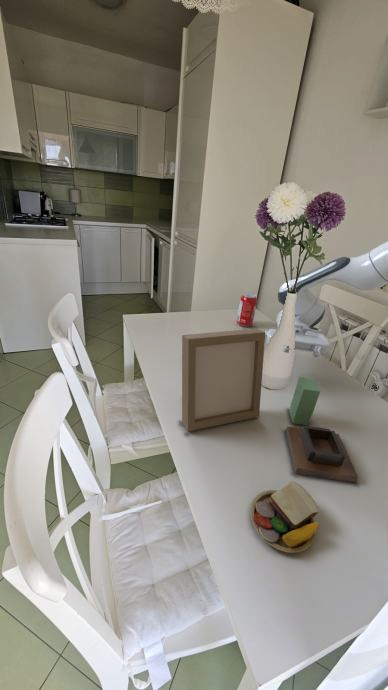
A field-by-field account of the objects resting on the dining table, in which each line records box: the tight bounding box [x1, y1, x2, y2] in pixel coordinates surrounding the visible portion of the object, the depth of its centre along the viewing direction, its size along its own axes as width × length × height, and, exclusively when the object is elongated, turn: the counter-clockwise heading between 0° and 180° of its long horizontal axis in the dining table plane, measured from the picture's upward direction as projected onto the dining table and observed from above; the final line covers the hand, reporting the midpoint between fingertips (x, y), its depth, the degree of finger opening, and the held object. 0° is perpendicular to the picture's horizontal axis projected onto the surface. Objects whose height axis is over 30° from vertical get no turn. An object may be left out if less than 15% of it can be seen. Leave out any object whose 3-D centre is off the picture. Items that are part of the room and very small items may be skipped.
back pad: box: [288, 376, 321, 426], centre depth 87 cm, size 4×6×12 cm
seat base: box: [285, 425, 359, 484], centre depth 76 cm, size 14×14×5 cm
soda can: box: [236, 292, 258, 328], centre depth 145 cm, size 8×8×15 cm
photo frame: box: [181, 328, 266, 432], centre depth 83 cm, size 15×22×25 cm
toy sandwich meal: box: [249, 480, 320, 554], centre depth 59 cm, size 12×14×5 cm
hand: (302, 352), depth 94 cm, fingers open, 8 cm apart
